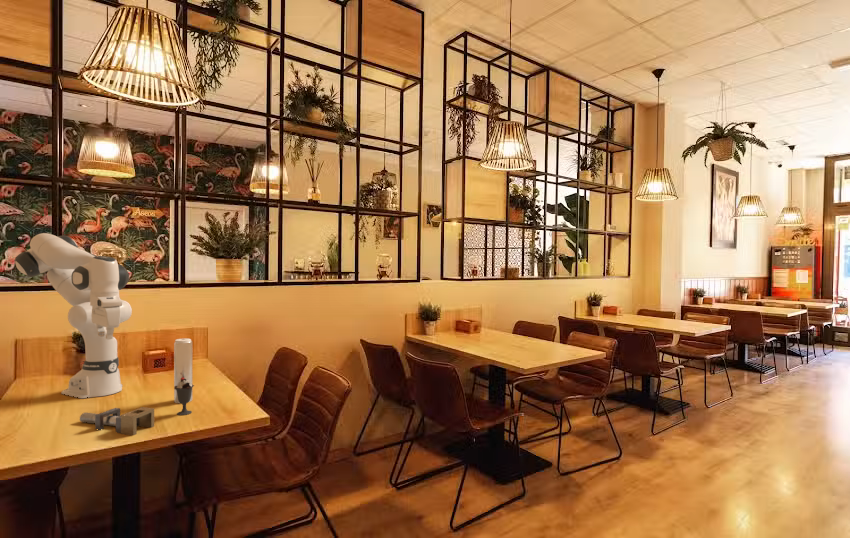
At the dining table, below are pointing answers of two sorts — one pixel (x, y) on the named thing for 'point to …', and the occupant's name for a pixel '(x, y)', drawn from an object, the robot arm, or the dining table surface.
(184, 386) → the sundae
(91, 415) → the tube
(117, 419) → the collar
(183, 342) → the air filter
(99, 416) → the collar
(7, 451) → the dining table surface
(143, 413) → the aperture bridge
